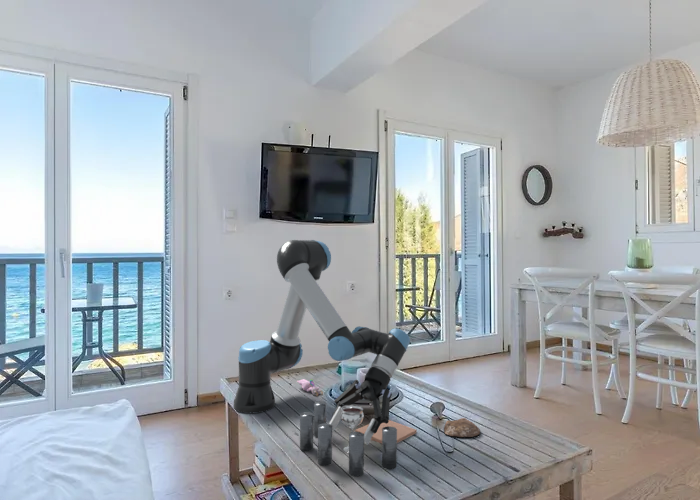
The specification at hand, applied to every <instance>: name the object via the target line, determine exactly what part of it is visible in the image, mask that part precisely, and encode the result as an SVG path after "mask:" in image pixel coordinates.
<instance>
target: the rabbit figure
mask: <svg viewBox="0 0 700 500" xmlns="http://www.w3.org/2000/svg"><path fill="white" fill-rule="evenodd" d="M296 382H297V383H298V384H299V385H300V386H301V387H302V390H304V392H305V391H306V392H307V393H308V392H310V393H312V396H316V397H319V395H322V396H323V395H324V394H323V393H324V391H322V389H320V387H319V386H316V385H315V383H314V379H310V380H307V379H304V378H302V379H300V380H296Z"/></svg>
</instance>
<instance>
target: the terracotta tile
mask: <svg viewBox="0 0 700 500" xmlns="http://www.w3.org/2000/svg"><path fill="white" fill-rule="evenodd" d="M369 424H370V423H368V424H366V425H364V426H361V427H359V428H356V429H355V430H354V432H361V433H363V434H365V432H366V430H367V428H368V426H369ZM388 426H389V427H395V428H396V429H397V444H398V443H400V442H402V441H404V440H406V439H408V438H409V437H411V436H413V435H416V434H417V429H416V428H413V427H410V426H407V425H404V424H401V423H399V422H395V421H393V420H389V422H388V423H387V424H386V423H382V424H380V426H379V428H378V430H377V432H376V433H374V434H373V436H372V438H371V440H370V441H373V442H376V443H379V444H381V445H382V429H383V428H384V427H388Z"/></svg>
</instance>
